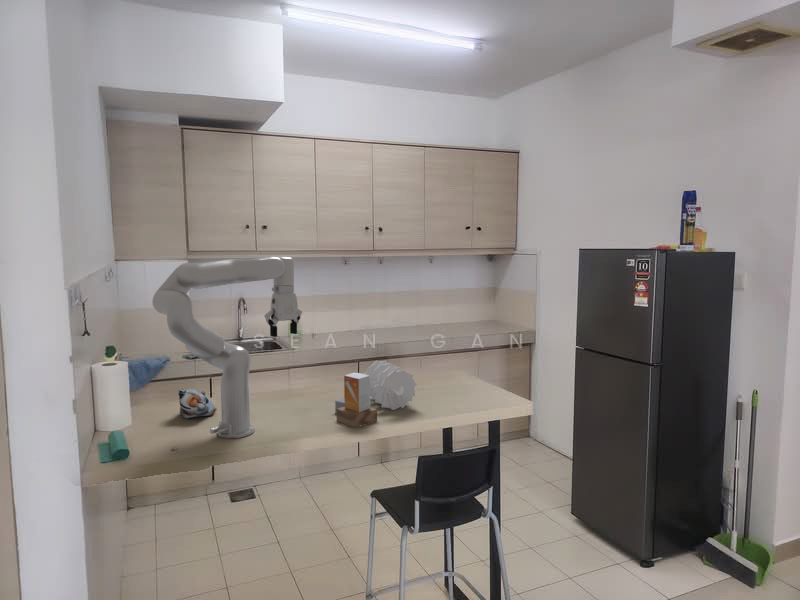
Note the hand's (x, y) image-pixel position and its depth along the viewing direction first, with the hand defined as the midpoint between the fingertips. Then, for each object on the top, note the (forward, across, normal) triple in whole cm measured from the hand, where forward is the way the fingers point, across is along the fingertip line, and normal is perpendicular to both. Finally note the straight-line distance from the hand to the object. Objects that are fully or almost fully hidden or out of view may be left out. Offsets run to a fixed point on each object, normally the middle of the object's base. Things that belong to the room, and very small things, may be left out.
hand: (283, 334), depth 205 cm
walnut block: (+33, +16, -23) cm, 43 cm away
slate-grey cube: (+32, +20, -12) cm, 40 cm away
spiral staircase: (+32, +40, -19) cm, 54 cm away
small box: (+28, +17, -23) cm, 40 cm away
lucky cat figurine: (+34, -18, +30) cm, 48 cm away
